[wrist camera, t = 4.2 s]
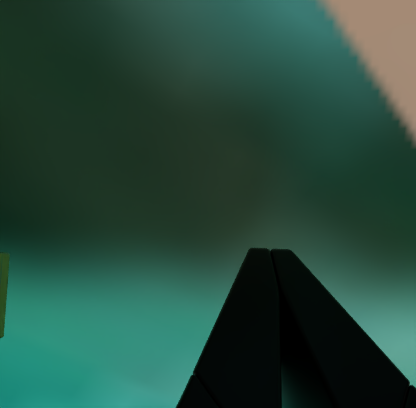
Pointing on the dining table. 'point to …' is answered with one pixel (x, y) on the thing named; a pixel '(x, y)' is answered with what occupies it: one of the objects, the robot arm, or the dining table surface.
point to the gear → (3, 288)
